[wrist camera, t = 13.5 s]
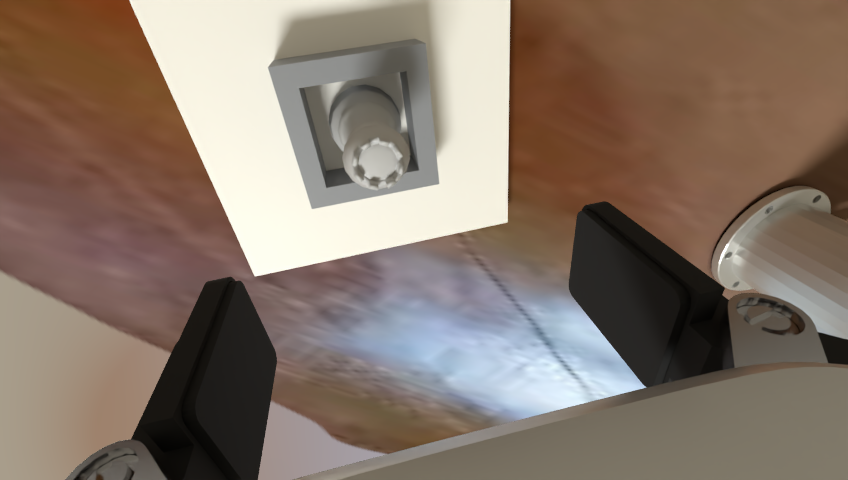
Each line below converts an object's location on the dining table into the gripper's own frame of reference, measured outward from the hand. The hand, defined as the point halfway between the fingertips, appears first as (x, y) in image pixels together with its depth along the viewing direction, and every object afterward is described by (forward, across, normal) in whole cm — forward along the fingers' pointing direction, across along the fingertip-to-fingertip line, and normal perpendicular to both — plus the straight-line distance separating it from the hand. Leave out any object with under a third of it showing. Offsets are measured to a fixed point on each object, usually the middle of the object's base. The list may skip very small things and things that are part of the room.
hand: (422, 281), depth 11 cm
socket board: (+18, +1, 0) cm, 18 cm away
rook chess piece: (+17, 0, 0) cm, 17 cm away
